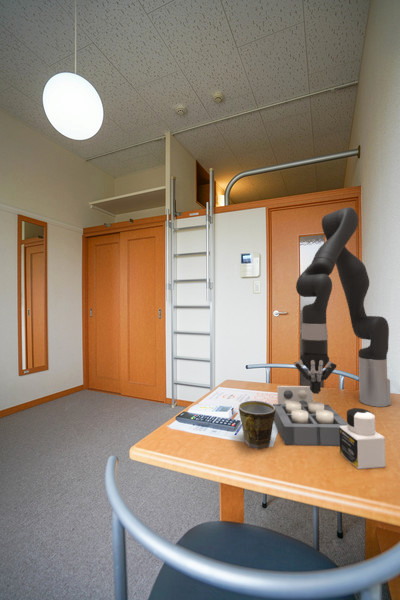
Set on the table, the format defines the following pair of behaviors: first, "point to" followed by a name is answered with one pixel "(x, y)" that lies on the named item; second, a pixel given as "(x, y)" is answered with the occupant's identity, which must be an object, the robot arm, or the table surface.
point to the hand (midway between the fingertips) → (315, 392)
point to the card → (294, 394)
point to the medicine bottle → (362, 440)
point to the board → (308, 428)
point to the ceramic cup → (257, 423)
